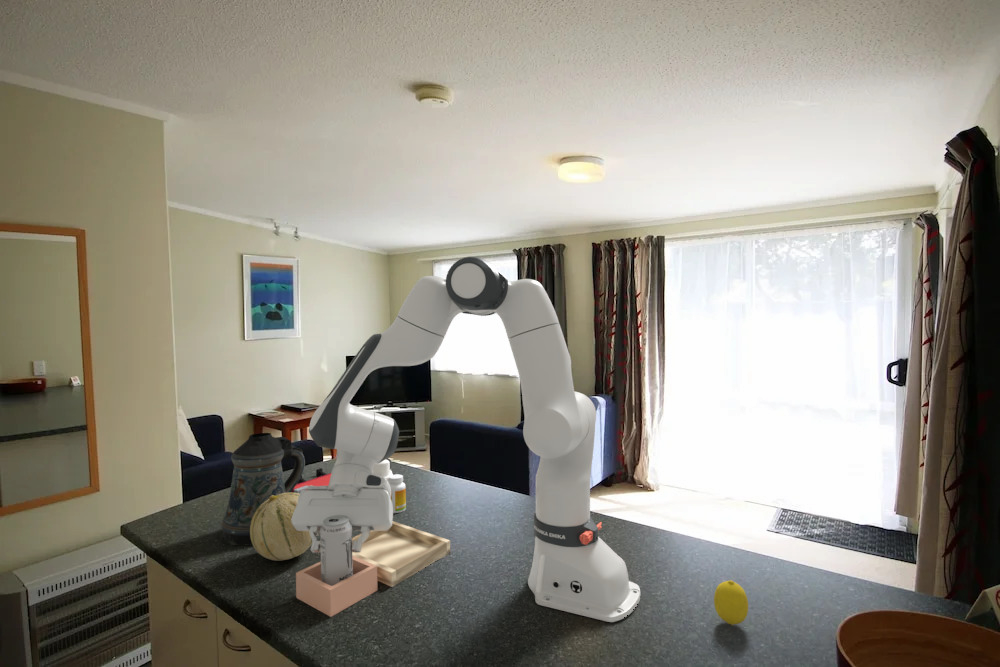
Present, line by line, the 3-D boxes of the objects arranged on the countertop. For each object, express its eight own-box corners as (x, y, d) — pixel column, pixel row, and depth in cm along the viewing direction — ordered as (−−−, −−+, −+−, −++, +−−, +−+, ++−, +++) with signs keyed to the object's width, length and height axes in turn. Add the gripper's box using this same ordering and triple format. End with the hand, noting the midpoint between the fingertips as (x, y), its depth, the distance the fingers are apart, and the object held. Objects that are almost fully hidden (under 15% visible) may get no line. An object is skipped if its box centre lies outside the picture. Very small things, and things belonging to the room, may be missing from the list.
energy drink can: (347, 602, 97) (346, 526, 97) (316, 602, 98) (315, 526, 97) (357, 586, 103) (355, 513, 103) (327, 585, 104) (326, 513, 103)
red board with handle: (257, 496, 156) (289, 506, 148) (257, 487, 156) (289, 497, 148) (334, 471, 182) (364, 479, 174) (334, 463, 181) (364, 471, 174)
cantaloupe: (333, 552, 118) (332, 489, 118) (274, 579, 106) (273, 509, 106) (295, 537, 127) (294, 478, 126) (237, 561, 114) (235, 495, 114)
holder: (377, 590, 102) (377, 565, 102) (330, 616, 93) (330, 590, 93) (343, 574, 108) (342, 551, 108) (296, 597, 99) (295, 572, 99)
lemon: (738, 615, 93) (738, 572, 92) (754, 634, 87) (754, 588, 87) (708, 616, 92) (708, 573, 92) (722, 635, 87) (723, 589, 87)
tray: (450, 553, 118) (450, 540, 117) (391, 587, 103) (391, 572, 103) (391, 532, 129) (391, 520, 129) (331, 560, 115) (331, 546, 114)
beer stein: (205, 540, 125) (203, 440, 124) (265, 511, 143) (263, 424, 142) (258, 550, 120) (256, 445, 119) (313, 518, 138) (312, 428, 137)
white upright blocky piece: (368, 495, 156) (367, 456, 155) (392, 492, 158) (391, 454, 158) (369, 503, 149) (369, 463, 149) (394, 500, 151) (393, 461, 151)
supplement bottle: (408, 506, 146) (407, 473, 146) (402, 514, 141) (402, 479, 141) (390, 506, 147) (389, 473, 147) (384, 513, 142) (383, 479, 141)
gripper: (297, 479, 107) (277, 545, 97) (393, 478, 107) (383, 545, 97) (306, 492, 111) (288, 557, 102) (398, 492, 111) (389, 557, 102)
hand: (335, 551), depth 100 cm, fingers open, 7 cm apart
